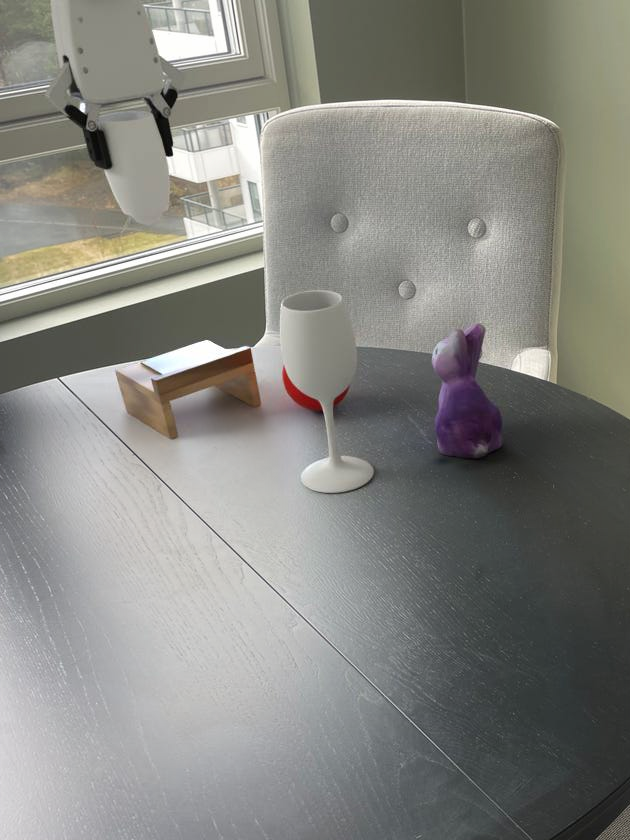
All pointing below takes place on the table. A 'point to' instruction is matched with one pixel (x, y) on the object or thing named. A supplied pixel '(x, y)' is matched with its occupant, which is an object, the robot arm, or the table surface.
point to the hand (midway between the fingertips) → (134, 160)
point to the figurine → (464, 398)
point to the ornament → (305, 399)
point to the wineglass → (322, 376)
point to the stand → (185, 381)
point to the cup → (137, 164)
